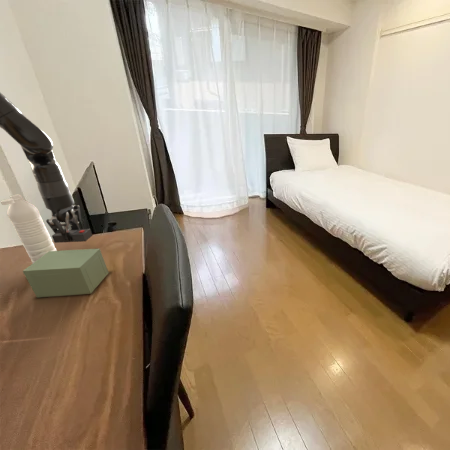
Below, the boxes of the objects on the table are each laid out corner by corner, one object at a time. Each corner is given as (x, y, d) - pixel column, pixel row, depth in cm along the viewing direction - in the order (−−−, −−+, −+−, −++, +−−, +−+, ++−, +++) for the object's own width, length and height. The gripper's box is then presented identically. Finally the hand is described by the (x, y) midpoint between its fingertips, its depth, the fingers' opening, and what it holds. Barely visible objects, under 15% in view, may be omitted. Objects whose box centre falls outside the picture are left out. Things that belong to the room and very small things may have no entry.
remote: (54, 242, 96) (51, 235, 94) (63, 236, 100) (59, 229, 98) (85, 241, 97) (82, 233, 95) (92, 235, 101) (89, 228, 99)
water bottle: (42, 264, 90) (6, 192, 79) (65, 260, 92) (34, 190, 81) (29, 279, 82) (-12, 203, 71) (56, 275, 85) (19, 200, 74)
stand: (36, 297, 75) (22, 271, 71) (60, 275, 84) (49, 251, 80) (90, 293, 77) (79, 267, 73) (108, 272, 86) (99, 248, 82)
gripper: (58, 186, 96) (74, 229, 104) (26, 200, 84) (48, 248, 91) (80, 186, 97) (95, 228, 105) (53, 200, 85) (72, 247, 92)
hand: (73, 237), depth 98 cm, fingers closed on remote, 4 cm apart
